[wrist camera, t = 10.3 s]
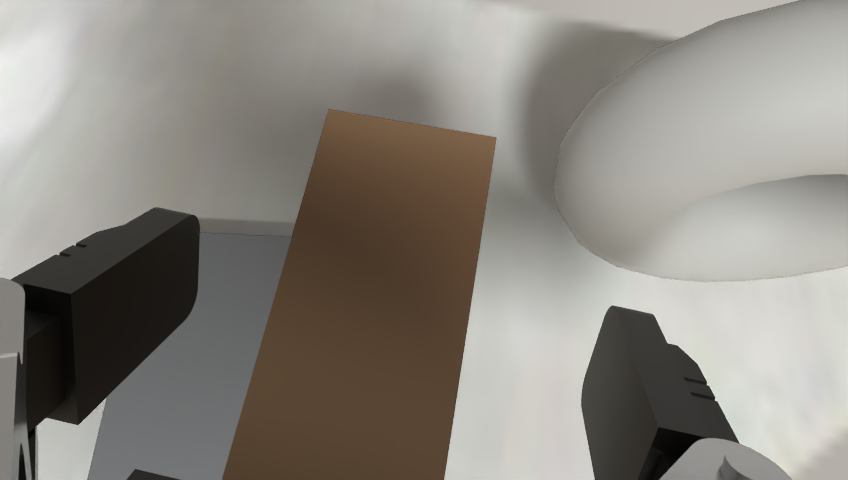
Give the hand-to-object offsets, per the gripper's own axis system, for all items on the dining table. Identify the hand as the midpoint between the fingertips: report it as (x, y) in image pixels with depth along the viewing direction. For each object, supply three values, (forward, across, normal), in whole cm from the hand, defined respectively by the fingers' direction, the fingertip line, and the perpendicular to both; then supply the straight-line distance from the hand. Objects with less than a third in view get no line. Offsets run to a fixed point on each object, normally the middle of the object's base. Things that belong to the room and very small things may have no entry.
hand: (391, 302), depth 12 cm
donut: (+9, -8, +1) cm, 12 cm away
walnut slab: (+3, 0, +5) cm, 6 cm away
